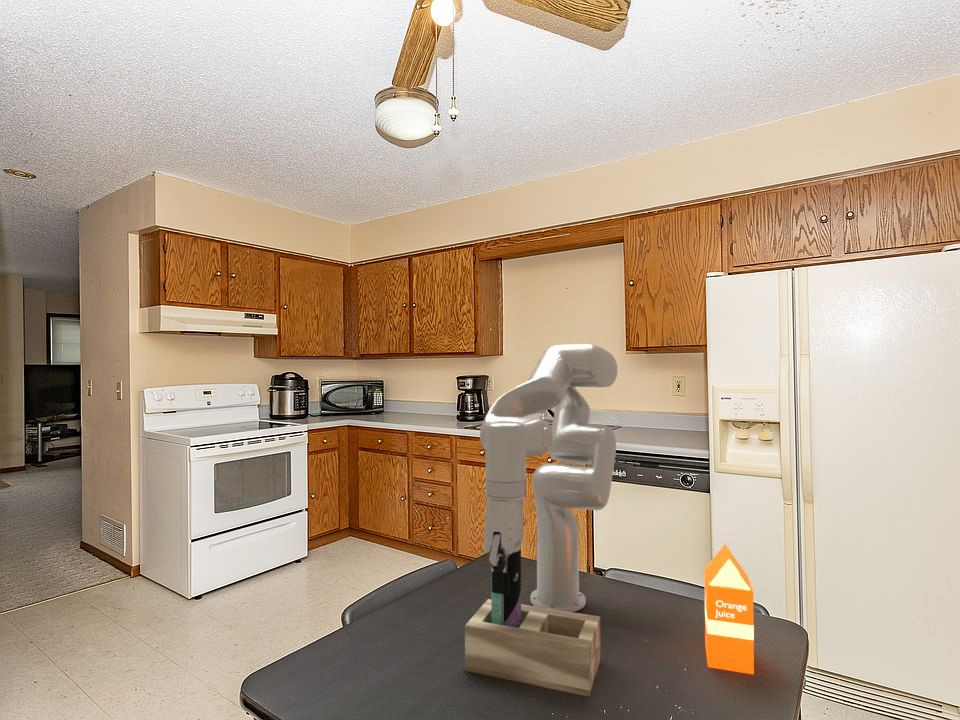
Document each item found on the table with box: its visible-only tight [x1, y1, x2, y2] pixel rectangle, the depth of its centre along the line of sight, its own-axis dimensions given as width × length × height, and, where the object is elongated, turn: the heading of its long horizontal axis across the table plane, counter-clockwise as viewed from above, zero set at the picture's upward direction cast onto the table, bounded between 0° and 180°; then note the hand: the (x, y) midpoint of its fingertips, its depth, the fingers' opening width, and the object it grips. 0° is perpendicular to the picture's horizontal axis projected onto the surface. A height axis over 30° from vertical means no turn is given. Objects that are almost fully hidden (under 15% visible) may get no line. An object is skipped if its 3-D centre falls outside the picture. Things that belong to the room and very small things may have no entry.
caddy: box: [464, 598, 601, 697], centre depth 101 cm, size 12×22×8 cm, turn 69°
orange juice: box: [703, 543, 755, 675], centre depth 103 cm, size 8×9×20 cm
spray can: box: [490, 541, 522, 628], centre depth 103 cm, size 6×6×20 cm
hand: (506, 585), depth 103 cm, fingers closed on spray can, 5 cm apart
